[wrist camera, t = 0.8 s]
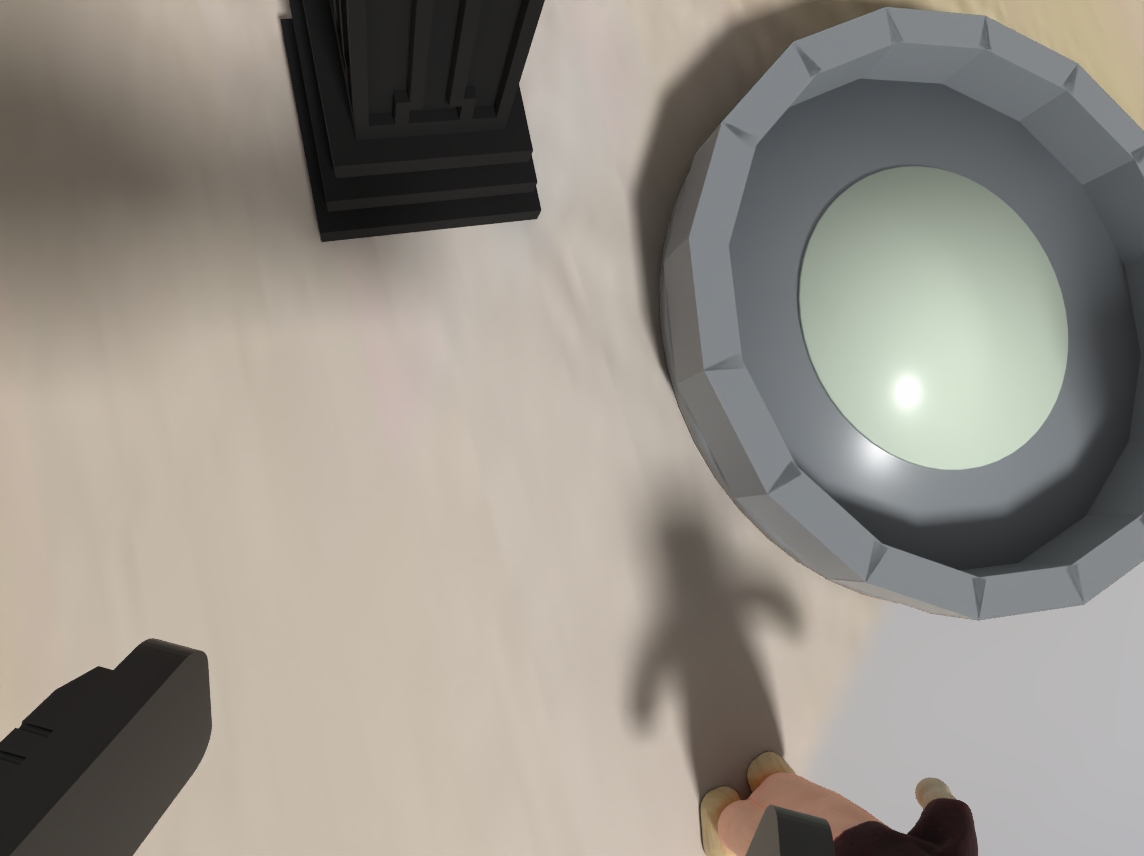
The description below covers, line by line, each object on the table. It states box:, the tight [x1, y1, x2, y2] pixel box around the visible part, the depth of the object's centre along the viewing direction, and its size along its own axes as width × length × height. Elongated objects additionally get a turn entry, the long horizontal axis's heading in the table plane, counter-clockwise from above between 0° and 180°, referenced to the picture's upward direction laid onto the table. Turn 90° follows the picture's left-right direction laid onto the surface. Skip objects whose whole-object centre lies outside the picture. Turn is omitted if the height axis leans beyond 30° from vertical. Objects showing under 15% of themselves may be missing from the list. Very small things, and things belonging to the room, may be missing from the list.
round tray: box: [659, 7, 1144, 620], centre depth 31 cm, size 24×24×4 cm
